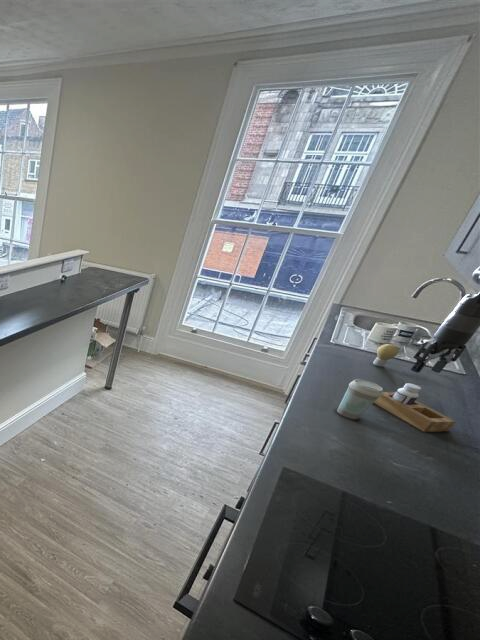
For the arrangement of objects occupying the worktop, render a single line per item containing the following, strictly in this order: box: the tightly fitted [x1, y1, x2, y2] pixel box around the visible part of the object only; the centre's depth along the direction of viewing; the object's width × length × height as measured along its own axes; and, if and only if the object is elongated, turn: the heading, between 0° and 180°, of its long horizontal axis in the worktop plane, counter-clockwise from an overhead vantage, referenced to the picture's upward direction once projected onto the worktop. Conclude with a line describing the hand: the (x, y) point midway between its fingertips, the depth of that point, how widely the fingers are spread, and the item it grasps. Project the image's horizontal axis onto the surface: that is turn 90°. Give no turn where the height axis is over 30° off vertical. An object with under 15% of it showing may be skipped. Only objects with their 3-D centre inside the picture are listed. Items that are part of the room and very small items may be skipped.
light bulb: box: [373, 343, 399, 368], centre depth 174 cm, size 6×6×10 cm
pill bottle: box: [392, 382, 422, 405], centre depth 141 cm, size 5×5×10 cm
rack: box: [373, 391, 457, 433], centre depth 139 cm, size 10×18×4 cm, turn 8°
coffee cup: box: [336, 378, 384, 420], centre depth 134 cm, size 9×8×12 cm
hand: (424, 371), depth 135 cm, fingers open, 8 cm apart
